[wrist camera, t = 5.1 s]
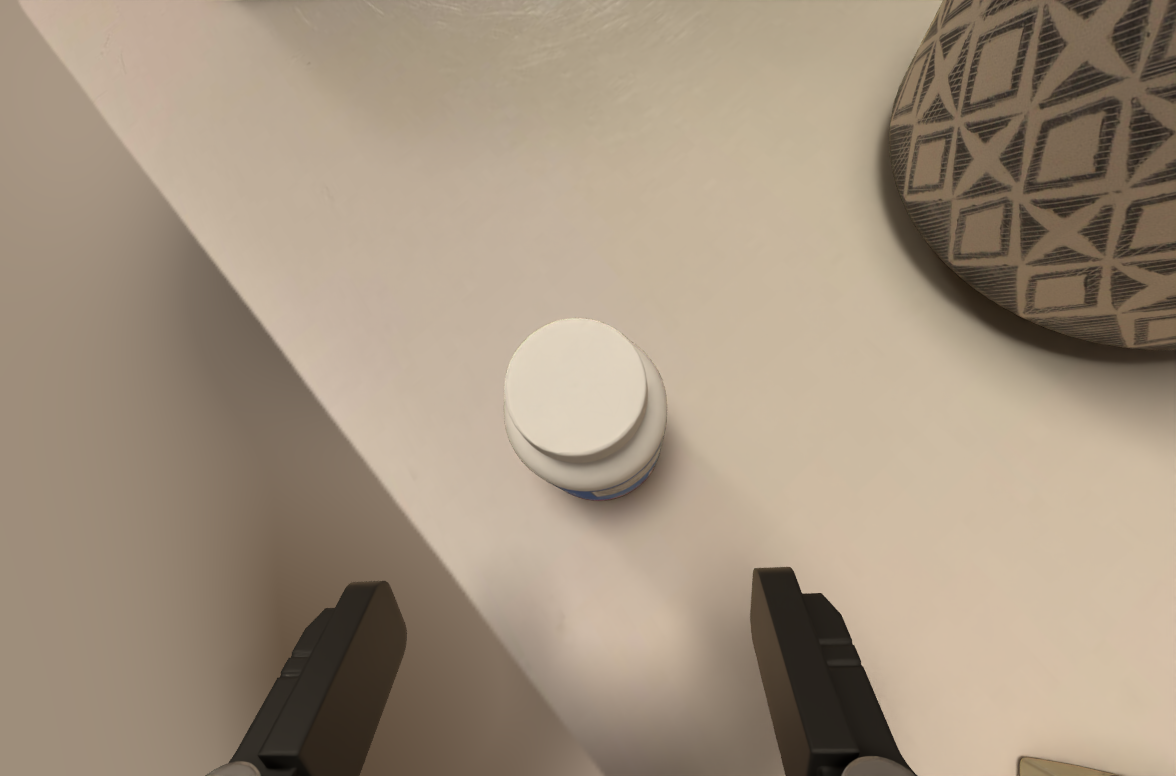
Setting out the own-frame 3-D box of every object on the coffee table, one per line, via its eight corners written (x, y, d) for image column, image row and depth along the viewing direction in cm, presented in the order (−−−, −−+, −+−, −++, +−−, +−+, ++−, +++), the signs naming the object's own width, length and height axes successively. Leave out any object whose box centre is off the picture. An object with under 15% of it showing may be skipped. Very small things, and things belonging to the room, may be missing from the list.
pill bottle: (518, 425, 25) (441, 355, 16) (616, 360, 25) (598, 255, 16) (583, 528, 23) (541, 520, 14) (686, 458, 24) (712, 405, 14)
